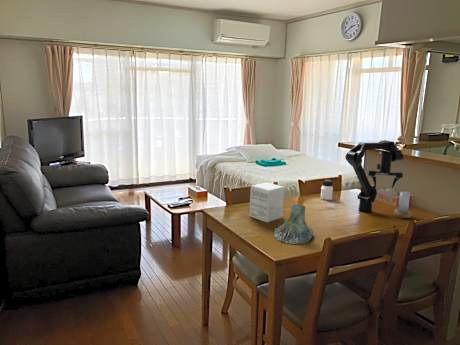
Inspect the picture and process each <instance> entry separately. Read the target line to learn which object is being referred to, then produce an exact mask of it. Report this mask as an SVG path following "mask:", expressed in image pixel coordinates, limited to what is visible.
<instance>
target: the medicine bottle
mask: <svg viewBox="0 0 460 345" xmlns="http://www.w3.org/2000/svg"><path fill="white" fill-rule="evenodd" d="M320 190H321V191H320V199H321V200H326V201H327V200H328V201H333V196H334V188H333V181H332V180H330V179H325V180H322V185H321V188H320Z"/></svg>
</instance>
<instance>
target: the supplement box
mask: <svg viewBox="0 0 460 345" xmlns="http://www.w3.org/2000/svg"><path fill="white" fill-rule="evenodd" d="M284 195H285V186H282V185H278V184H275V183H271V182H262V183H257V184H253V185H250V196H249V214H248V215H249V217H250V218H254V219H256V220H259V221H261V222H265V223H269V222H273V221H276V220H280V219H282V218H283V214H284V199H285V198H284V197H285V196H284Z"/></svg>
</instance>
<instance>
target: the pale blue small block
mask: <svg viewBox="0 0 460 345" xmlns="http://www.w3.org/2000/svg"><path fill="white" fill-rule="evenodd" d="M410 198H411V193H410V192H409V191H406V190H405V191H402V190H401V191H399V198H398V206H397V209H398V211H399V212H403V213H407V212H408V210H409V206H410Z"/></svg>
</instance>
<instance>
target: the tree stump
mask: <svg viewBox="0 0 460 345" xmlns="http://www.w3.org/2000/svg"><path fill="white" fill-rule="evenodd" d="M305 212H306V206H305V205H302V204H298V203H292V206H291V211H290V213H289V215H288V218H287V219H286V220H285V221H284V223H283V224H281V225H279V226H277V228H275V230H274V234H273V238H274V239H276V241H278V242H280V243H283V244H288V245H304V244H307V243H309V242H310V241H311V239H312V237H313V234H314V230H313V228H310V227H309V226H308V225H307V223H306V220H305V218H306V215H305Z"/></svg>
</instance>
